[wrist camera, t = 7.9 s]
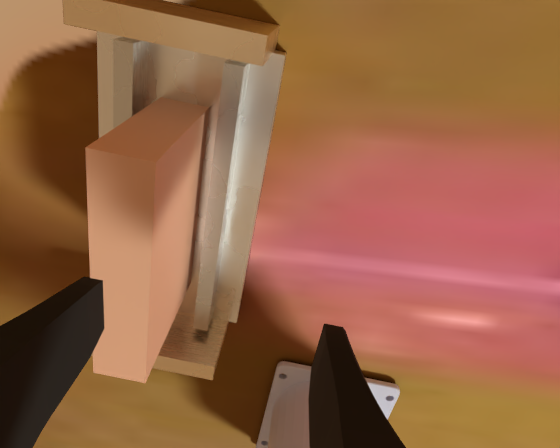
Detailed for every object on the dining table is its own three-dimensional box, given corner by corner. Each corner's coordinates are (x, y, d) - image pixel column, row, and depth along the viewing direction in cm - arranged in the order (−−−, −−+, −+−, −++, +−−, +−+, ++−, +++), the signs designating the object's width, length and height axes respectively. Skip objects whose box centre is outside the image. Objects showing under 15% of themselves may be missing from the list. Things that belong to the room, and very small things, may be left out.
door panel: (190, 283, 24) (145, 383, 18) (151, 275, 24) (93, 372, 18) (209, 107, 19) (155, 162, 13) (161, 97, 19) (85, 147, 13)
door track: (237, 324, 27) (221, 382, 23) (109, 297, 27) (72, 351, 23) (291, 27, 18) (282, 38, 15) (106, -12, 18) (47, -12, 14)
